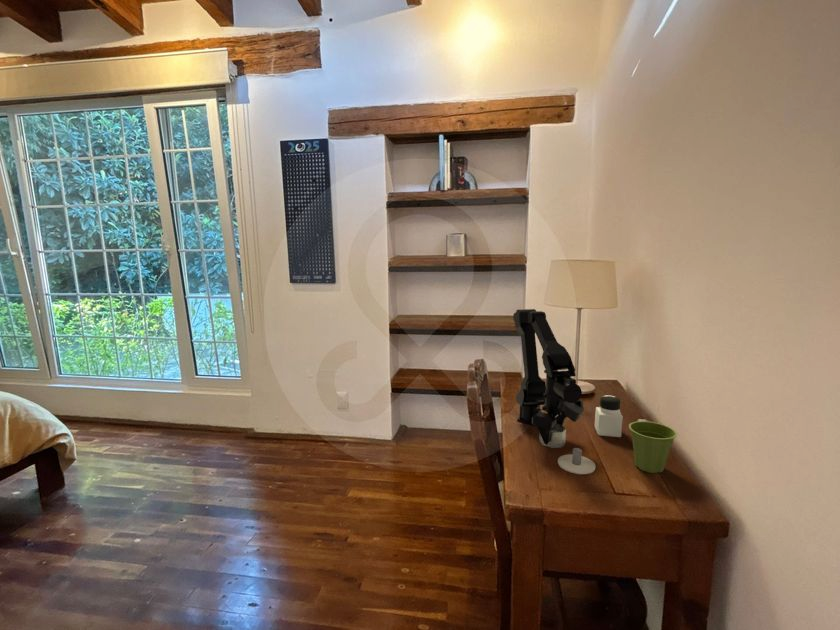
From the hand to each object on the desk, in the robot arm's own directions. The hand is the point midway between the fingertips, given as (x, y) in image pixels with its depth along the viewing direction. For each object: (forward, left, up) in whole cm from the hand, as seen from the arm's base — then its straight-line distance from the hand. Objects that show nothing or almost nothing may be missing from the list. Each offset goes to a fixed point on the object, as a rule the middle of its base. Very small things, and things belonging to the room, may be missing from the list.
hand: (552, 438), depth 139 cm
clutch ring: (0, 0, -1) cm, 1 cm away
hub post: (+11, -9, -1) cm, 14 cm away
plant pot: (+27, +3, -2) cm, 27 cm away
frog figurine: (+22, +20, -2) cm, 30 cm away
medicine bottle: (+11, +19, -2) cm, 22 cm away
